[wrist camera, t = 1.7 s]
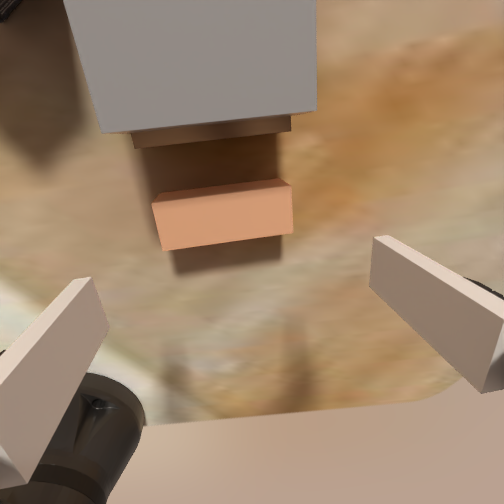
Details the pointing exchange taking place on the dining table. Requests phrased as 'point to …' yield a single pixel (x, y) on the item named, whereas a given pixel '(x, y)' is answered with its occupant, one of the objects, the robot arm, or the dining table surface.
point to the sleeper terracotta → (223, 213)
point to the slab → (195, 60)
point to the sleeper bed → (211, 132)
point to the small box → (7, 8)
